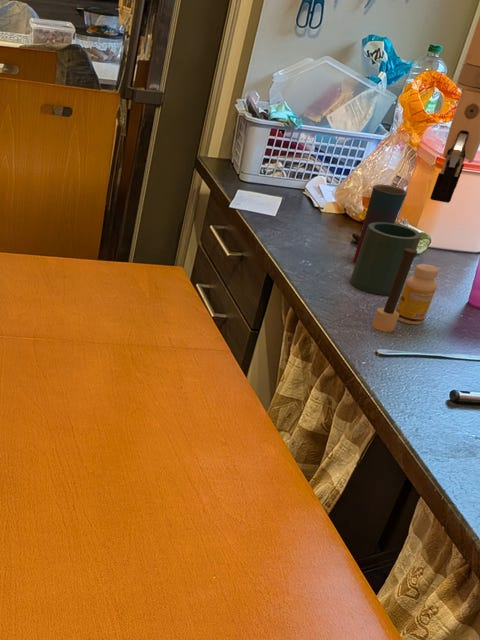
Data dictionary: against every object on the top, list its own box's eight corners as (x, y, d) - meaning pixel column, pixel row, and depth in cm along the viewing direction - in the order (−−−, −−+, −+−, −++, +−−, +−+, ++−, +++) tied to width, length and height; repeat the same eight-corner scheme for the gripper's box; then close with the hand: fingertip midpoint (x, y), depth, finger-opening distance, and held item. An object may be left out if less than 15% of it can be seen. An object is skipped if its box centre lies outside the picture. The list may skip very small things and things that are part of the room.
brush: (384, 323, 174) (413, 246, 165) (398, 331, 172) (427, 253, 163) (367, 323, 173) (394, 246, 164) (380, 332, 170) (409, 254, 161)
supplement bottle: (397, 311, 180) (416, 260, 173) (425, 319, 178) (445, 267, 172) (390, 319, 176) (410, 267, 170) (419, 327, 174) (440, 275, 168)
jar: (380, 276, 196) (399, 221, 188) (411, 294, 188) (432, 238, 181) (340, 277, 192) (358, 222, 185) (369, 296, 185) (389, 239, 178)
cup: (350, 265, 199) (374, 190, 190) (348, 255, 205) (372, 182, 195) (382, 270, 199) (408, 196, 189) (379, 260, 204) (405, 187, 194)
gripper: (506, 90, 140) (461, 210, 151) (511, 75, 152) (469, 187, 163) (454, 82, 142) (413, 201, 153) (463, 68, 154) (425, 179, 165)
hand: (442, 194), depth 158 cm, fingers open, 9 cm apart
